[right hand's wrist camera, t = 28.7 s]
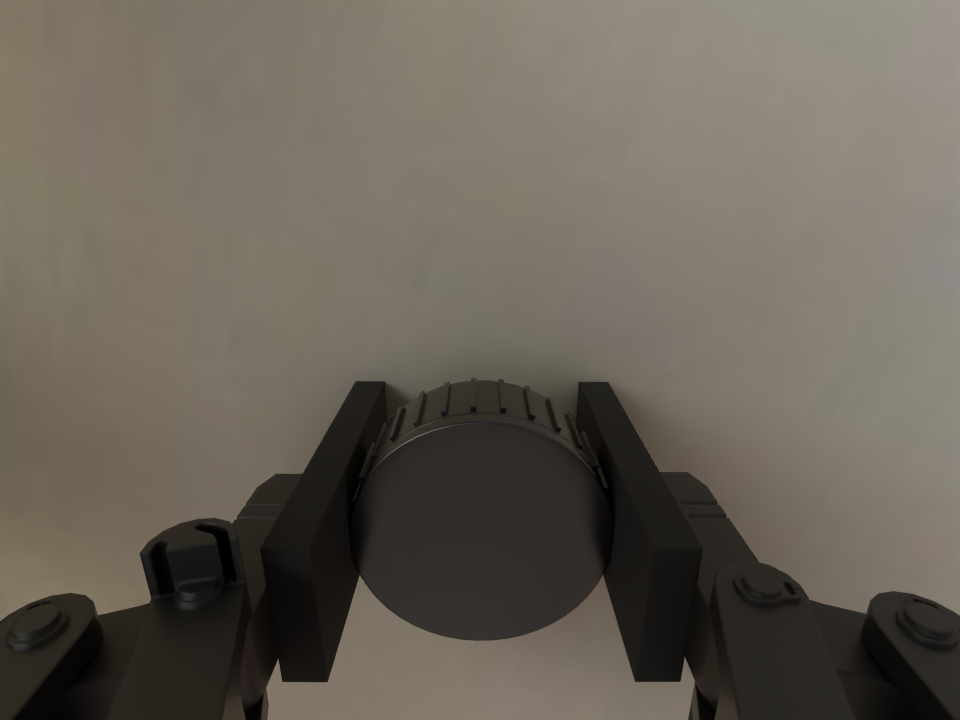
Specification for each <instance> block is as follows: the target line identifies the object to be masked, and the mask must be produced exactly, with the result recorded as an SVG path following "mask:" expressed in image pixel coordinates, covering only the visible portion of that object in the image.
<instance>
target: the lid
mask: <svg viewBox="0 0 960 720" xmlns="http://www.w3.org/2000/svg"><path fill="white" fill-rule="evenodd" d="M357 481H360V482H359V485H358V487H357V490H356V492H355V495H354V498H353V506H352V511H351V516H350V528H349V536H350V545H351V550H352V554H353V557H354V561H355V564H356V566H357V568H358V571H359V573H360V575H361V577H362V579H363V580H364V582H365V583H366V585H367V586H368V588H369V589H370V590H371V592H372V593H373V594H374V595H375V596H376V598H377V599H378V600H379V601H380V602H381V603H382V604H384V605H385V606H386V607H387V608H388V609H389V610H390V611H392V612H393V613H395V614H396V615H397V616H399V617H400V618H402V619H403V620H405V621H407V622H409V623H411V624H412V625H414V626H416V627H419V628H421V629H424V630H426V631H428V632H432V633H435V634H438V635H442V636H445V637H451V638H456V639H463V640H475V641H481V640H499V639H508V638H512V637H517V636H521V635H525V634H528V633H531V632H534V631H537V630H539V629H542V628H544V627H546V626H548V625H550V624H552V623H554V622H556V621H557V620H559V619H561V618H563V617H564V616H566V615H567V614H568V613H570V612H571V611H572V610H574V609H575V608H576V607H577V606H578V605H579V604H580V603H581V602H582V601H583V600H585V599H586V598H587V597H588V595H589V594H590V593H591V592H592V590H593V589H594V588H595V586H596V585H597V584H598V582H599V580H600V578H601V577H602V575H603V573H604V571H605V569H606V566H607V564H608V561H609V559H610V555H611V550H612V546H613V536H614V523H613V514H612V510H611V506H610V501H609V499H608V496H607V493H606V492H608V491H609V487H608V485H607V482H606V479H605V477H604V474H603V472H602V469H601V467H600V464H599V462H598V459H597V456H596V454H595V452H593V449H592V447H591V444H590V441H589V439H588V436H587V434H586V432H585V431H583V432H581V431H580V429H579V428H578V426H577V425H576V424H575V421H574V419H573V416H572V414H571V413H570V412H568V413H567V414H566V413H565V412H564V411H563V410H562V409H561V408H560V407H559V406H557V405H556V404H554V401H553V399H552V398H550V397H548V399H547V398H545V397H543V396H541V395H540V394H538V393H536V392H534V391H531V390H530V387H528V386H525V387H524V388H523V387H520V386H517V385H513V384H509V383H504V380H500V379H499V380H498V382H496V381H477V379H476V378H474V379H471V381H467V382H459V383H454V384H450V383H449V382H448V383H445V384H444V386H443V387H439V388H437V389H434V390H432V391H429V392H427V393H425V392H424V391H423V392H421V393H420V395H419V397H418V398H416V399H414V400H413V401H411V402H410V403H409V404H407V405H406V406H405V407H404V406H403V405H401V406H400V407H399V408H398V411H397V414H396V415H395V416H394V417H393V418H392V419H391V420H390V421H389V422H388V424H387V423H385V422H384V423H383V425H382V426H381V429H380V432H379V435H378V438H377V440H376V443H373V442H372V443H371V445H370V448H369V450H368V453H367V456H366V458H365V461H364V464H363V466H362V469H361V472H360V474H359V477H358V480H357Z"/></svg>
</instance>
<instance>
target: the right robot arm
mask: <svg viewBox="0 0 960 720" xmlns="http://www.w3.org/2000/svg"><path fill="white" fill-rule="evenodd" d="M384 422H385V423H387V412H386V396H385V382H365V381H356V382H355V384H354V385H353V387H352V389H351V391H350V392H349V394H348V396H347V398H346V399H345V401H344V403H343V405H342V406H341V408H340V410H339V412H338V413H337V415H336V417H335V419H334V420H333V422H332V424H331V425H330V427H329V429H328V431H327V432H326V434H325V436H324V438H323V439H322V441H321V443H320V445H319V446H318V448H317V450H316V452H315V453H314V455H313V457H312V459H311V460H310V462H309V464H308V466H307V467H306V469H305V471H304V473H303V474H275V475H274V476H273V477H271V478H270V479H268V480H267V481H266V482H264V483H263V484H261V485H260V486H259V487H257V488H256V490H255V491H254V493H253V494H252V496H251V497H250V499H249V500H248V502H247V503H246V507H243V509H242V510H241V512H240V513H239V515H238V516H237V520H234V522H233V523H232V524H231V523H230V522H229V521H225V520H221V519H217V518H208V519H196V520H192V521H188V522H184V523H180V524H178V525H176V526H174V527H171V528H169V529H167V530H165V531H163V532H161V533H160V534H159V535H157V536H156V537H155V538H153V539H152V540H150V541H149V542H148V543H147V545H146V546H145V547H144V549H143V550H142V551H141V552H140V557H141V560H142V564H143V568H144V572H145V576H146V579H147V583H148V587H149V591H150V595H151V598H152V599H151V601H150V603H148V604H145V605H142V606H138V607H133V608H129V609H125V610H120V611H116V612H111V613H107V614H102V615H98V614H97V611H96V608H95V605H94V602H93V601H92V600H90V599H89V598H88V597H87V596H86V595H80V594H74V593H68V594H61V595H54V596H49V597H47V598H44V599H41V600H38V601H35V602H32V603H30V604H28V605H26V606H24V607H22V608H20V609H18V610H17V611H15V612H13V613H11V614H9V615H8V616H7V617H5V618H4V619H3V620H2V621H0V720H267V716H268V705H269V704H268V697H267V690H266V687H267V684H268V682H269V680H270V677H271V675H272V672H273V670H274V667H275V665H276V662H277V660H278V658H279V664H280V670H281V676H282V682H328V679H329V676H330V672H331V669H332V666H333V662H334V659H335V656H336V652H337V649H338V645H339V642H340V639H341V635H342V632H343V629H344V625H345V622H346V619H347V615H348V612H349V609H350V605H351V602H352V599H353V595H354V592H355V589H356V585H357V582H358V579H359V575H360V573H359V571H358V568H357V566H356V564H355V561H354V557H353V554H352V550H351V545H350V536H349V528H350V516H351V511H352V506H353V498H354V495H355V492H356V490H357V487H358V485H359V482H360V481H357V480H358V477H359V474H360V472H361V469H362V466H363V464H364V461H365V458H366V456H367V453H368V450H369V448H370V445H371V443H372V442H373V443H376V440H377V438H378V435H379V432H380V429H381V426H382V425H383V423H384ZM576 425H577V426H578V428H579V429H580V431H581V432H583V431H585V432H586V434H587V436H588V439H589V441H590V444H591V447H592V449H593V452H595V454H596V456H597V459H598V462H599V464H600V467H601V469H602V472H603V474H604V477H605V479H606V482H607V485H608V487H609V491H608V492H606V493H607V496H608V499H609V501H610V506H611V510H612V514H613V523H614V536H613V546H612V550H611V555H610V559H609V561H608V564H607V566H606V569H605V571H604V573H603V575H604V579H605V582H606V586H607V589H608V592H609V596H610V599H611V602H612V606H613V609H614V612H615V616H616V619H617V622H618V626H619V629H620V633H621V636H622V639H623V643H624V646H625V649H626V653H627V656H628V659H629V663H630V666H631V669H632V673H633V676H634V680H635V682H680V680H681V675H682V669H683V663H684V657H685V658H686V660H687V663H688V665H689V667H690V670H691V672H692V675H693V677H694V679H695V685H694V690H693V696H692V701H691V707H690V712H689V717H688V720H960V616H959V615H958V614H956V613H955V612H953V611H951V610H949V609H947V608H946V607H944V606H942V605H940V604H938V603H936V602H934V601H931V600H929V599H926V598H923V597H920V596H917V595H914V594H909V593H902V592H895V591H892V592H886V593H879V594H878V595H876V596H875V597H874V598H873V599H872V600H870V603H869V607H868V610H867V613H866V614H865V613H860V612H856V611H851V610H847V609H843V608H838V607H834V606H829V605H825V604H822V603H818V602H815V601H812V600H809V598H808V596H807V595H806V593H805V592H804V590H803V589H802V587H801V586H800V585H799V584H798V583H797V582H796V581H794V580H793V579H792V578H791V577H790V576H788V575H787V574H786V573H784V572H782V571H780V570H778V569H776V568H774V567H772V566H770V565H766V564H763V563H759V561H758V560H757V558H756V557H755V556H754V554H753V553H752V551H751V550H750V548H749V547H748V545H747V544H746V543H745V541H744V540H743V538H742V537H741V535H740V534H739V532H738V531H737V530H736V528H735V527H734V525H733V524H732V522H731V521H730V519H729V518H727V517H726V514H725V512H724V511H723V509H722V508H721V506H720V505H717V501H716V499H715V498H714V496H713V495H712V493H711V492H710V490H709V489H708V488H707V486H706V485H704V484H703V483H702V482H700V481H699V480H697V479H696V478H695V477H693V476H692V475H690V474H689V473H688V472H659V471H658V469H657V467H656V465H655V464H654V462H653V460H652V458H651V457H650V455H649V453H648V451H647V450H646V448H645V446H644V444H643V443H642V441H641V439H640V437H639V436H638V434H637V432H636V430H635V429H634V427H633V425H632V423H631V422H630V420H629V418H628V416H627V415H626V413H625V411H624V409H623V408H622V406H621V404H620V402H619V401H618V399H617V397H616V395H615V394H614V392H613V390H612V388H611V387H610V385H609V383H608V382H579V387H578V402H577V416H576Z"/></svg>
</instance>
